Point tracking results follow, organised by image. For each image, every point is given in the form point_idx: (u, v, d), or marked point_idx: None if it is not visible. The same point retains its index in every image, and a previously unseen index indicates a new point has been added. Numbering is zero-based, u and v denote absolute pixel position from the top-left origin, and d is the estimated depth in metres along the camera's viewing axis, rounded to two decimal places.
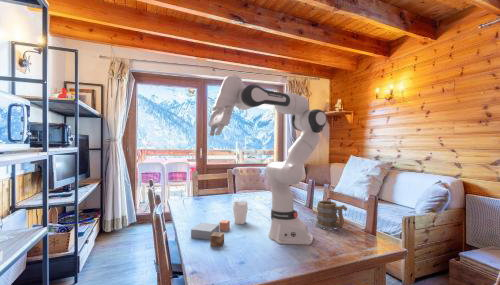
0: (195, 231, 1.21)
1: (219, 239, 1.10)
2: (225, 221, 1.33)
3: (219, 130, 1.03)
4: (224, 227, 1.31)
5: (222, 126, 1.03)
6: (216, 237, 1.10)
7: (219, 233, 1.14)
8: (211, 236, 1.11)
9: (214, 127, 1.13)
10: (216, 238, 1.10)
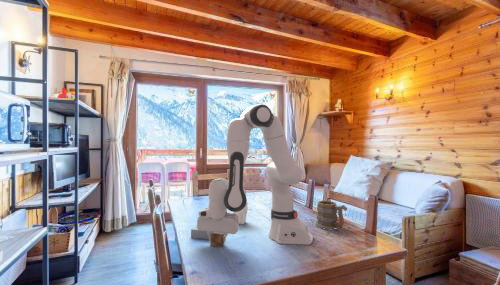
0: (195, 231, 1.21)
1: (219, 239, 1.10)
2: None
3: (225, 237, 1.12)
4: None
5: None
6: (216, 237, 1.10)
7: (219, 233, 1.14)
8: (211, 236, 1.11)
9: None
10: (217, 238, 1.10)
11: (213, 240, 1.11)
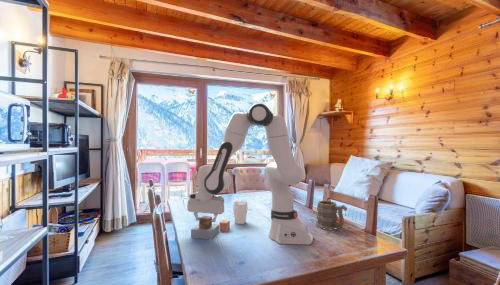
0: (195, 231, 1.21)
1: (207, 221, 1.23)
2: (225, 221, 1.33)
3: (215, 218, 1.24)
4: (224, 227, 1.31)
5: (217, 214, 1.24)
6: (204, 220, 1.23)
7: (207, 217, 1.26)
8: (200, 219, 1.24)
9: None
10: (204, 221, 1.23)
11: (201, 223, 1.23)
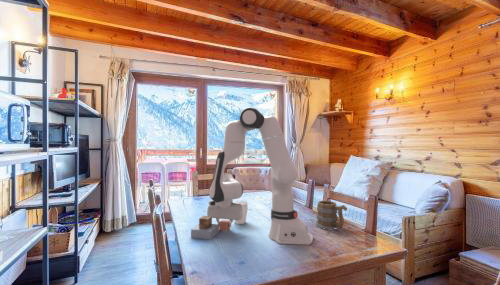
0: (195, 231, 1.21)
1: (207, 221, 1.23)
2: (225, 221, 1.33)
3: None
4: (224, 227, 1.31)
5: (232, 219, 1.33)
6: (204, 220, 1.23)
7: (207, 217, 1.26)
8: (200, 219, 1.24)
9: None
10: (204, 221, 1.23)
11: (201, 223, 1.23)
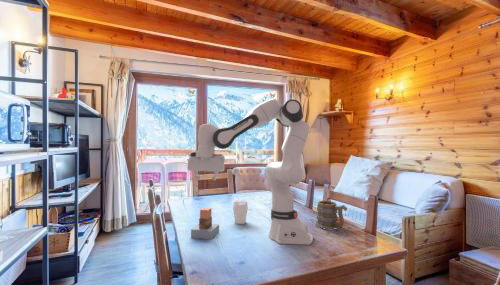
0: (195, 231, 1.21)
1: (207, 221, 1.23)
2: (207, 209, 1.25)
3: (215, 176, 1.24)
4: (205, 215, 1.23)
5: (217, 172, 1.25)
6: (204, 220, 1.23)
7: None
8: (200, 219, 1.24)
9: (197, 171, 1.27)
10: (204, 221, 1.23)
11: (201, 223, 1.23)
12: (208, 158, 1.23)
